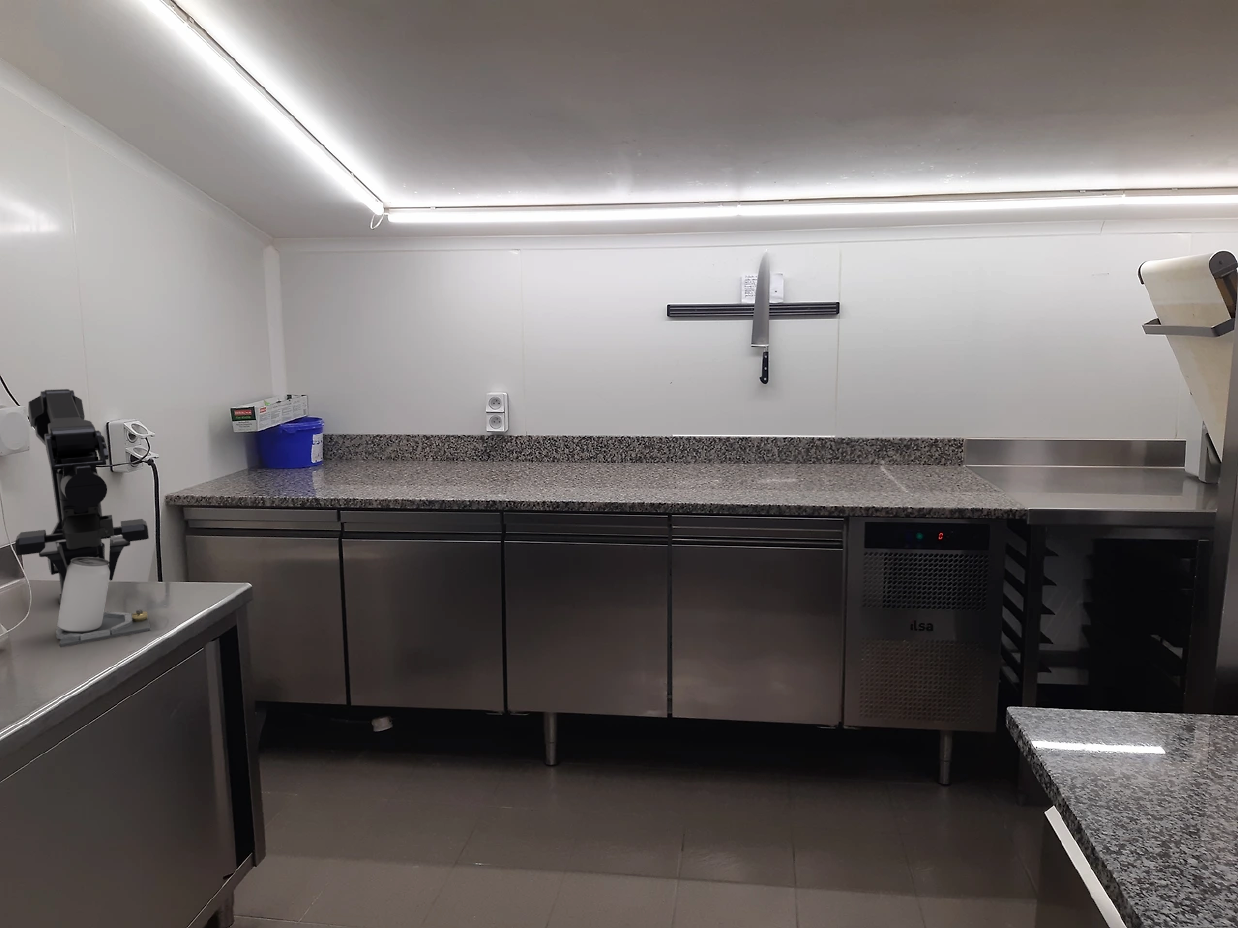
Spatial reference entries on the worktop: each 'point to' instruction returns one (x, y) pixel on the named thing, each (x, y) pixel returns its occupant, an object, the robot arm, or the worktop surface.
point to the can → (84, 594)
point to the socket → (115, 629)
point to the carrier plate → (108, 624)
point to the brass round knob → (139, 616)
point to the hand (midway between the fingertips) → (90, 582)
